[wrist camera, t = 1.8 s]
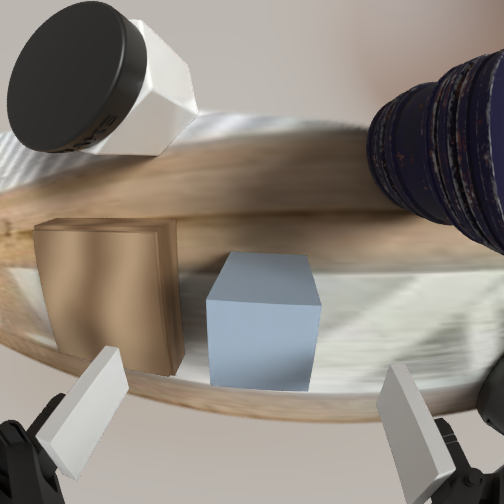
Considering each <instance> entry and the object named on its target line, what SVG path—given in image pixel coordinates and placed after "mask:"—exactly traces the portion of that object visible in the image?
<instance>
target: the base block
mask: <svg viewBox="0 0 504 504" xmlns="http://www.w3.org/2000/svg"><path fill="white" fill-rule="evenodd" d="M34 229H35V230H33V231H32V232H33V240H34V247H35V253H36V260H37V266H38V271H39V276H40V281H41V286H42V291H43V295H44V300H45V304H46V308H47V312H48V316H49V320H50V323H51V327H52V330H53V334H54V337H55V341H56V344H57V347H58V350H59V352H61V353H65V354H68V355H72V356H75V357H79V358H83V359H87V360H91V361H93V360H94V359H95V358H96V357H97V356H98V354H99V353H100V352H101V351H102V349H103V348H104V347H105V346H111V347H116V348H119V352H120V356H121V360H122V364H123V368H125V369H130V370H134V371H139V372H145V373H150V374H156V375H161V376H167V377H169V376H170V375H174V376H175V374H176V372H177V370H178V368H179V366H180V364H181V362H182V359H183V357H184V355H185V350H184V340H183V330H182V318H181V306H180V292H179V276H178V257H177V232H176V219H141V218H56V219H53V220H50V221H47V222H44V223H41V224H38V225H35V226H34Z"/></svg>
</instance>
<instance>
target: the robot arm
mask: <svg viewBox="0 0 504 504" xmlns="http://www.w3.org/2000/svg"><path fill="white" fill-rule="evenodd" d="M128 389H129V386H128V383H127V379H126V376H125V372H124V368H123V364H122V360H121V356H120V352H119V348H116V347H111V346H105V347H104V348H103V349H102V351H101V352H100V353H99V354H98V356H97V357H96V358H95V359H94V360H93V362H92V363H91V364H90V365H89V367H88V368H87V369H86V370H85V372H84V373H83V374H82V375H81V377H80V378H79V379H78V380H77V382H76V383H75V384H74V386H73V387H72V388H71V389H70V391H69V392H68V393H67V394H66V395H65V394H63V393H60V394H58V395H56V396H55V397H53V398H52V399H51V400H50V401H49V403H48V404H47V405H46V407H45V408H44V409H43V410H42V413H40V414H39V416H38V417H37V418H36V419H35V421H34V422H33V423H32V424H31V426H30V427H29V429H28V430H27V431H25V430H24V428H23V427H22V425H21V424H20V423H19V422H18V421H15V420H8V421H4V422H3V423H2V424H0V504H65V502H64V499H63V495H62V492H61V489H60V485H59V481H58V478H57V475H56V473H55V471H56V469H57V468H58V469H59V470H60V471H61V473H62V474H63V475H65V476H67V477H69V478H72V479H74V480H76V481H77V480H78V478H79V476H80V474H81V473H82V471H83V469H84V467H85V465H86V464H87V462H88V460H89V458H90V456H91V454H92V453H93V451H94V449H95V447H96V445H97V444H98V442H99V440H100V438H101V436H102V435H103V433H104V431H105V429H106V428H107V426H108V424H109V422H110V420H111V418H112V417H113V415H114V413H115V412H116V410H117V408H118V406H119V405H120V403H121V401H122V400H123V398H124V396H125V394H126V393H127V391H128ZM376 406H377V409H378V411H379V414H380V417H381V420H382V423H383V426H384V429H385V432H386V435H387V439H388V442H389V445H390V448H391V451H392V454H393V458H394V461H395V464H396V468H397V471H398V474H399V478H400V481H401V485H402V488H403V492H404V496H405V499H406V503H407V504H424V503H425V502H426V501H427V500H428V499H429V498H430V497H431V500H432V503H431V504H504V465H503V466H501V467H500V468H499V469H497V470H496V471H495V472H494V473H492V474H483V473H482V472H481V471H480V470H478V469H477V468H471V467H470V465H469V463H468V461H467V459H466V456H465V455H464V452H463V450H462V449H461V446H460V444H459V442H457V438H456V436H455V435H454V432H453V430H452V428H451V426H450V425H449V424H448V423H447V422H446V421H445V420H444V419H443V418H438V419H433V418H432V416H431V414H430V412H429V410H428V408H427V406H426V404H425V402H424V400H423V398H422V396H421V394H420V392H419V390H418V388H417V386H416V384H415V382H414V381H413V379H412V377H411V375H410V373H409V371H408V369H407V368H406V366H405V364H404V363H399V364H390V367H389V370H388V372H387V375H386V378H385V381H384V384H383V387H382V390H381V392H380V395H379V398H378V400H377V403H376ZM477 410H478V413H479V414H480V416H481V417H482V419H483V421H484V422H485V423H486V424H487V425H489V426H491V427H492V428H493V429H495V430H496V431H498V432H499V433H501V434H502V435H504V356H503V358H502V359H501V360H500V361H499V363H498V364H497V365H496V366H495V368H494V369H493V371H492V372H491V374H490V375H489V377H488V378H487V380H486V382H485V384H484V385H483V387H482V390H481V392H480V394H479V397H478V401H477Z"/></svg>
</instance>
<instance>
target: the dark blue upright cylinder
mask: <svg viewBox="0 0 504 504" xmlns="http://www.w3.org/2000/svg"><path fill="white" fill-rule="evenodd" d="M366 153H367V160H368V165H369V168H370V171H371V174H372V176H373V178H374V180H375V182H376V184H377V186H378V187H379V188H380V190H381V191H382V192H383V194H384V195H385V196H386V197H387V198H388V199H390V200H391V201H392V202H393V203H395V204H396V205H398V206H400V207H402V208H404V209H407V210H408V211H410V212H412V213H413V214H415V215H417V216H420V217H422V218H425V219H427V220H429V221H432V222H434V223H437V224H443V225H454V226H455V227H456V228H457V229H458V230H459V231H460V232H461V233H462V234H464V235H465V236H467V237H468V238H469V239H471V240H472V241H475V242H477V243H479V244H482V245H484V246H486V247H488V248H490V249H491V250H494V251H495V252H498V253H500V254H502V255H504V49H502V50H500V51H498V52H496V53H493V54H484V55H482V56H479V57H476V58H474V59H472V60H470V61H468V62H465V63H464V64H461V65H458V66H456V67H453V68H452V69H451V70H449V71H448V72H447V73H445V74H444V75H443V77H441V78H440V79H439V81H438V82H429V83H423V84H419V85H417V86H415V87H413V88H411V89H409V90H408V91H406V92H404V93H402V94H400V95H399V96H398V97H396V98H395V99H393V100H392V101H390V102H389V103H387V104H386V105H384V106H383V107H382V108H381V109H380V110H379V111H378V112H377V114H376V115H375V117H374V118H373V120H372V122H371V125H370V127H369V130H368V135H367V142H366Z"/></svg>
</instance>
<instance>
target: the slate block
mask: <svg viewBox="0 0 504 504" xmlns="http://www.w3.org/2000/svg"><path fill="white" fill-rule="evenodd" d="M321 307H322V305H321V302H320V298H319V295H318V292H317V288H316V285H315V281H314V278H313V275H312V271H311V268H310V265H309V262H308V258H307V255H291V254H270V253H250V252H231V253H230V254H229V256H228V258H227V260H226V262H225V264H224V266H223V268H222V270H221V272H220V274H219V275H218V277H217V279H216V281H215V283H214V285H213V287H212V289H211V291H210V293H209V295H208V297H207V299H206V312H207V334H208V353H209V369H210V384H211V385H213V386H222V387H232V388H244V389H257V390H275V391H308V388H309V383H310V377H311V372H312V366H313V360H314V354H315V348H316V342H317V335H318V328H319V321H320V314H321Z"/></svg>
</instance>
